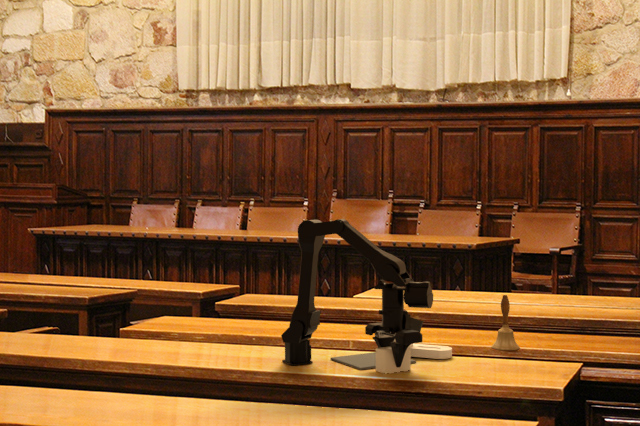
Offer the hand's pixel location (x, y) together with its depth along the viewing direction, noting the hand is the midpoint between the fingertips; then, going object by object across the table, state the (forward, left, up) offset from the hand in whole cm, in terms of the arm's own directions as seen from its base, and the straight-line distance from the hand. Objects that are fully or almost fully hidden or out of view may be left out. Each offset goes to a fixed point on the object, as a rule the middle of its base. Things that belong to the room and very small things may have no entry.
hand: (393, 365), depth 214 cm
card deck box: (0, 0, -1) cm, 1 cm away
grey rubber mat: (+2, +13, -1) cm, 13 cm away
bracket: (+17, +13, -1) cm, 22 cm away
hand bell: (+47, +9, -2) cm, 48 cm away
